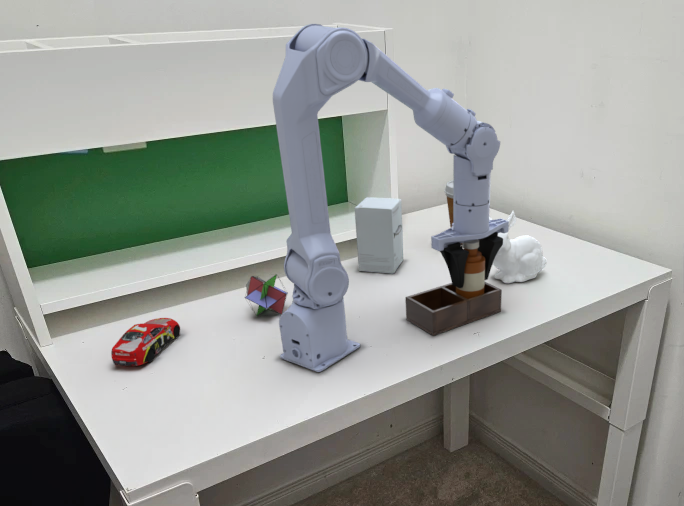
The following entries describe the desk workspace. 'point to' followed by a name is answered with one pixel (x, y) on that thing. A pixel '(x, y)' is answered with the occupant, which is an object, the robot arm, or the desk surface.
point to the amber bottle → (473, 271)
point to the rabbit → (518, 257)
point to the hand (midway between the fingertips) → (470, 281)
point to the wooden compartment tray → (450, 308)
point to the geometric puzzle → (265, 294)
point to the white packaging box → (379, 234)
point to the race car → (144, 341)
